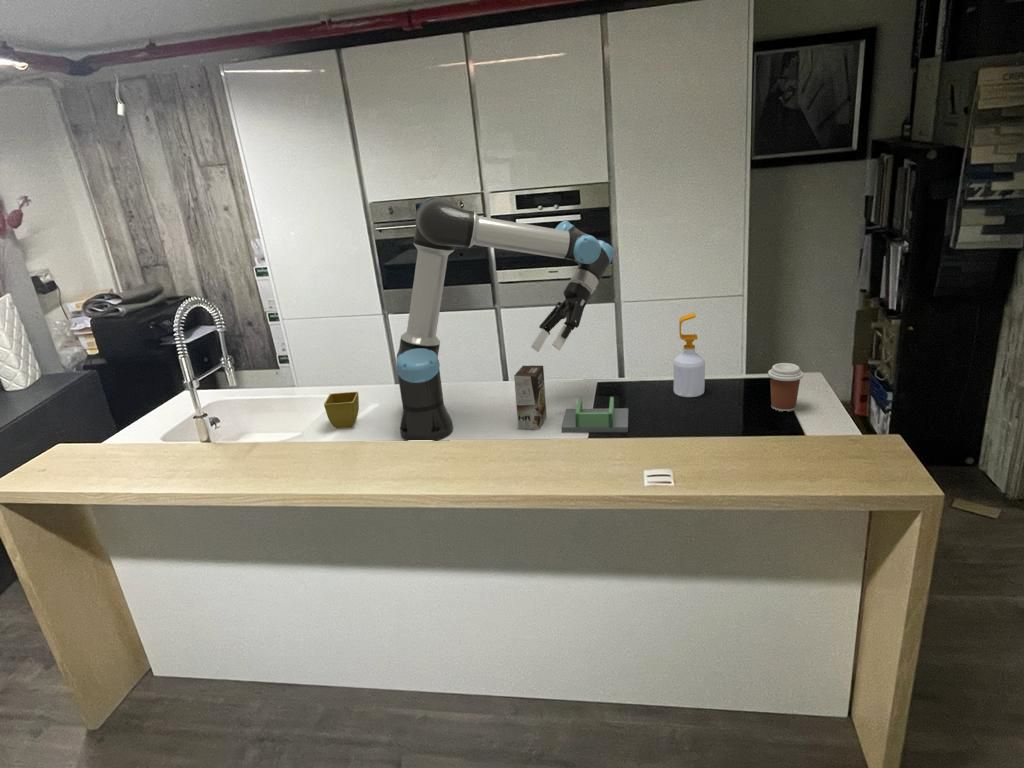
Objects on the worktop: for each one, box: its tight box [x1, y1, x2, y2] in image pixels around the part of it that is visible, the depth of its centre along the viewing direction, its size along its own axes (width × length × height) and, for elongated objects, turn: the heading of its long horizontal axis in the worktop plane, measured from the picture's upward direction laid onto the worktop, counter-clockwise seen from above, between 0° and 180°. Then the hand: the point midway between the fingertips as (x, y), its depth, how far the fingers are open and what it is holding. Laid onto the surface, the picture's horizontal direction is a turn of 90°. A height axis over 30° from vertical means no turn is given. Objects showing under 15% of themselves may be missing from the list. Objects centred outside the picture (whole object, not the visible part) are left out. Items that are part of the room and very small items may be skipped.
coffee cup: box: [767, 362, 804, 412], centre depth 188 cm, size 9×9×12 cm
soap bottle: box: [673, 312, 706, 398], centre depth 202 cm, size 9×9×25 cm
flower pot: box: [323, 391, 360, 429], centre depth 203 cm, size 9×9×9 cm
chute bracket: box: [561, 396, 629, 433], centre depth 190 cm, size 18×13×6 cm
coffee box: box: [513, 365, 548, 430], centre depth 191 cm, size 9×6×16 cm
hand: (544, 348), depth 194 cm, fingers open, 13 cm apart
